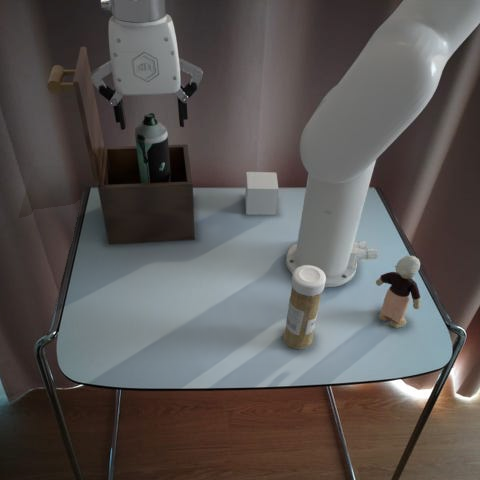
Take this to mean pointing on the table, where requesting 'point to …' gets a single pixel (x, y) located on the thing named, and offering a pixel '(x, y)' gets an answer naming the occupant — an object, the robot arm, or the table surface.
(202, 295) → the table surface
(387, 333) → the table surface
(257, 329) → the table surface
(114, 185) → the chest
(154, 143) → the spray can
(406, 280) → the grandmother figurine
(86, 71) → the lid
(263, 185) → the white cube
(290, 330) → the sprinkles bottle
